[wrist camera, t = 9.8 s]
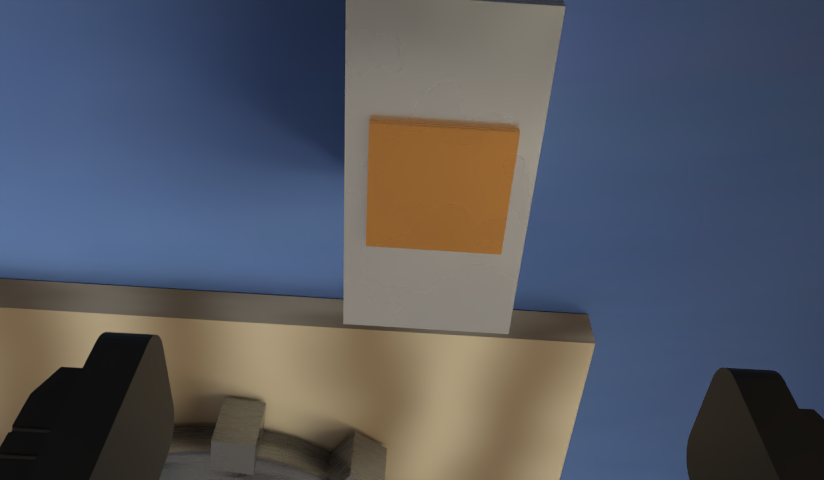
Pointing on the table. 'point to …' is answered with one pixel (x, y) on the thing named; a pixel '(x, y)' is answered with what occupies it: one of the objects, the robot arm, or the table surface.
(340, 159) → the table surface
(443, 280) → the white block orange patch
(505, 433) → the base plate
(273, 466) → the sprocket
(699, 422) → the robot arm
